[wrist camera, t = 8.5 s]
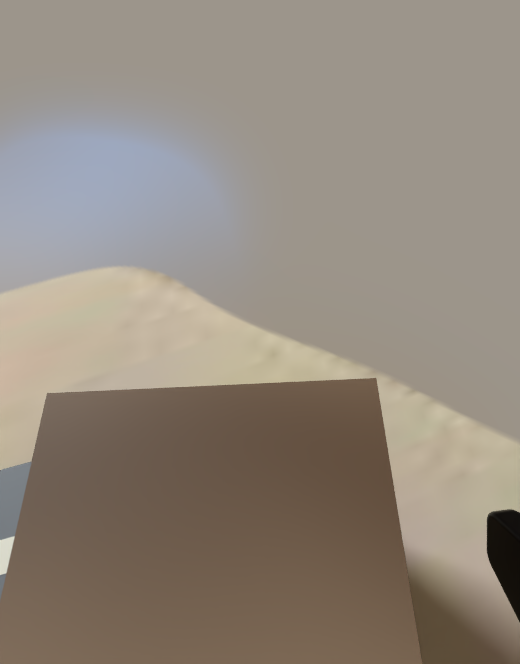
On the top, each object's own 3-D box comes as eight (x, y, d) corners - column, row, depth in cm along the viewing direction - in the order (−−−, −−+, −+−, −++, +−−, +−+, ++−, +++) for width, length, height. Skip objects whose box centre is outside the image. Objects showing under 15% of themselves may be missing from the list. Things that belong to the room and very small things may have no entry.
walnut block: (336, 657, 14) (455, 873, 4) (196, 660, 14) (-61, 870, 4) (324, 507, 16) (376, 378, 6) (202, 511, 17) (47, 393, 6)
